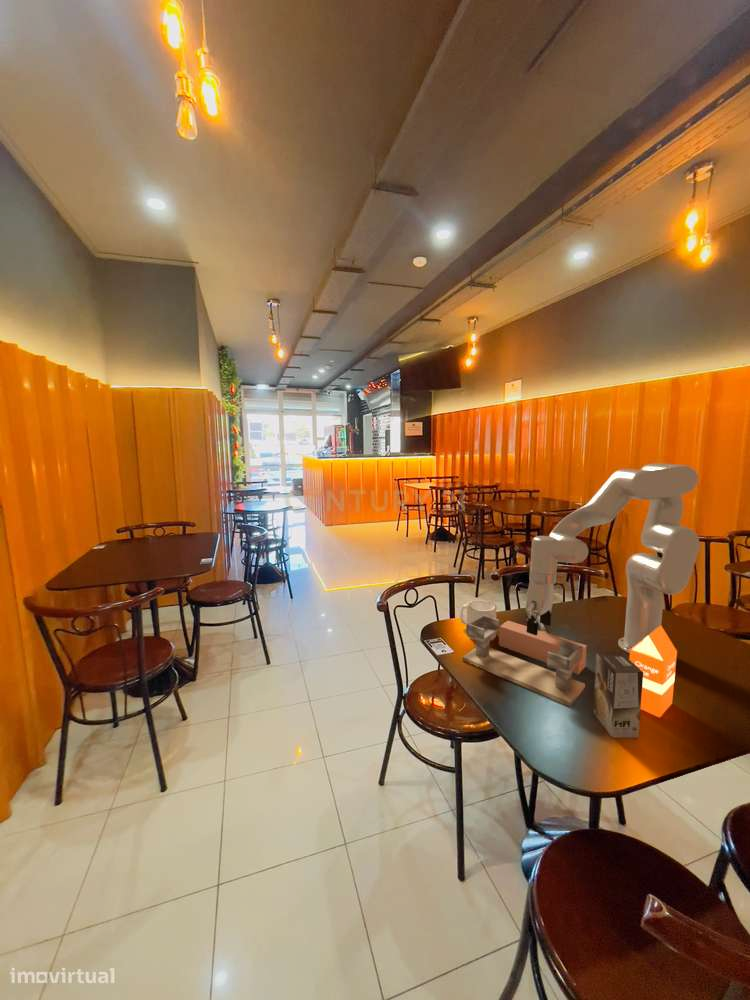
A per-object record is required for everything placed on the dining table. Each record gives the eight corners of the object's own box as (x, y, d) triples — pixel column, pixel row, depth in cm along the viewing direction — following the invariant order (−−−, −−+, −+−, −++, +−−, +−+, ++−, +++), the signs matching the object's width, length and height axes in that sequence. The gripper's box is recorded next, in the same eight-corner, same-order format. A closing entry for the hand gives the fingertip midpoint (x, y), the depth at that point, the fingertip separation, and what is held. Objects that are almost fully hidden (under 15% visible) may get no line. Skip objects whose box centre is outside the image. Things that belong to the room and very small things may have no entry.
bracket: (533, 610, 157) (538, 592, 151) (548, 658, 139) (554, 640, 134) (525, 610, 157) (529, 592, 151) (539, 658, 140) (544, 640, 134)
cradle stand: (584, 687, 110) (587, 646, 109) (570, 706, 103) (572, 662, 101) (480, 647, 133) (481, 613, 131) (462, 660, 125) (463, 624, 123)
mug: (452, 631, 145) (452, 603, 143) (468, 622, 152) (469, 595, 150) (485, 644, 135) (486, 614, 133) (501, 634, 142) (502, 605, 140)
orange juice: (672, 703, 103) (679, 630, 100) (660, 718, 98) (667, 640, 95) (638, 689, 109) (644, 619, 107) (624, 702, 104) (630, 629, 101)
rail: (585, 667, 121) (586, 645, 120) (578, 675, 117) (579, 652, 116) (507, 639, 138) (508, 620, 137) (498, 646, 134) (499, 626, 133)
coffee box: (640, 738, 91) (645, 672, 89) (611, 738, 92) (616, 672, 89) (617, 711, 100) (621, 651, 98) (591, 711, 101) (595, 651, 98)
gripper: (542, 567, 133) (538, 617, 135) (518, 579, 120) (514, 633, 123) (565, 573, 127) (561, 624, 130) (543, 586, 115) (538, 642, 117)
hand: (538, 628), depth 126 cm, fingers open, 9 cm apart
